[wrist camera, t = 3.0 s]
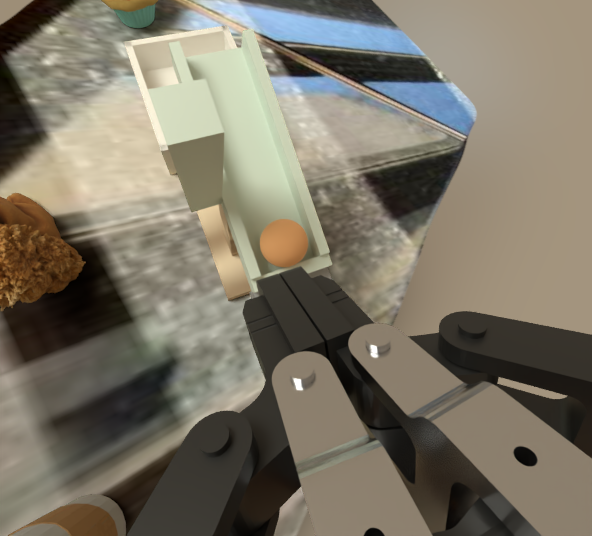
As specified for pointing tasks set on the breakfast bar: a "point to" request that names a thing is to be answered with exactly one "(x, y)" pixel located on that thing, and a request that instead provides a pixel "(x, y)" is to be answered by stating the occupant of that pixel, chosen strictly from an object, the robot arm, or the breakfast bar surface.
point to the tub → (170, 66)
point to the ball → (283, 243)
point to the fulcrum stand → (224, 251)
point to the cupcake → (134, 11)
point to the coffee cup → (79, 519)
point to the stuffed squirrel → (32, 253)
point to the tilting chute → (238, 152)
